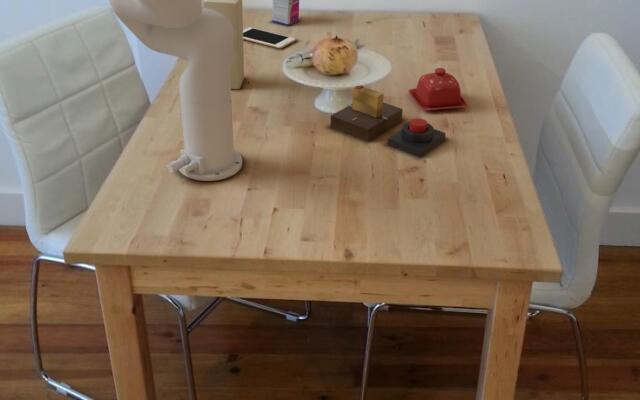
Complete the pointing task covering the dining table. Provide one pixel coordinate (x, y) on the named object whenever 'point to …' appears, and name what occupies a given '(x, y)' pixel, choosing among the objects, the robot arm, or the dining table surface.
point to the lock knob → (367, 101)
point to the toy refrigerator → (230, 6)
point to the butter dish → (438, 91)
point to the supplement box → (285, 11)
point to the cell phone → (267, 37)
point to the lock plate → (365, 121)
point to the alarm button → (418, 125)
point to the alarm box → (416, 140)
